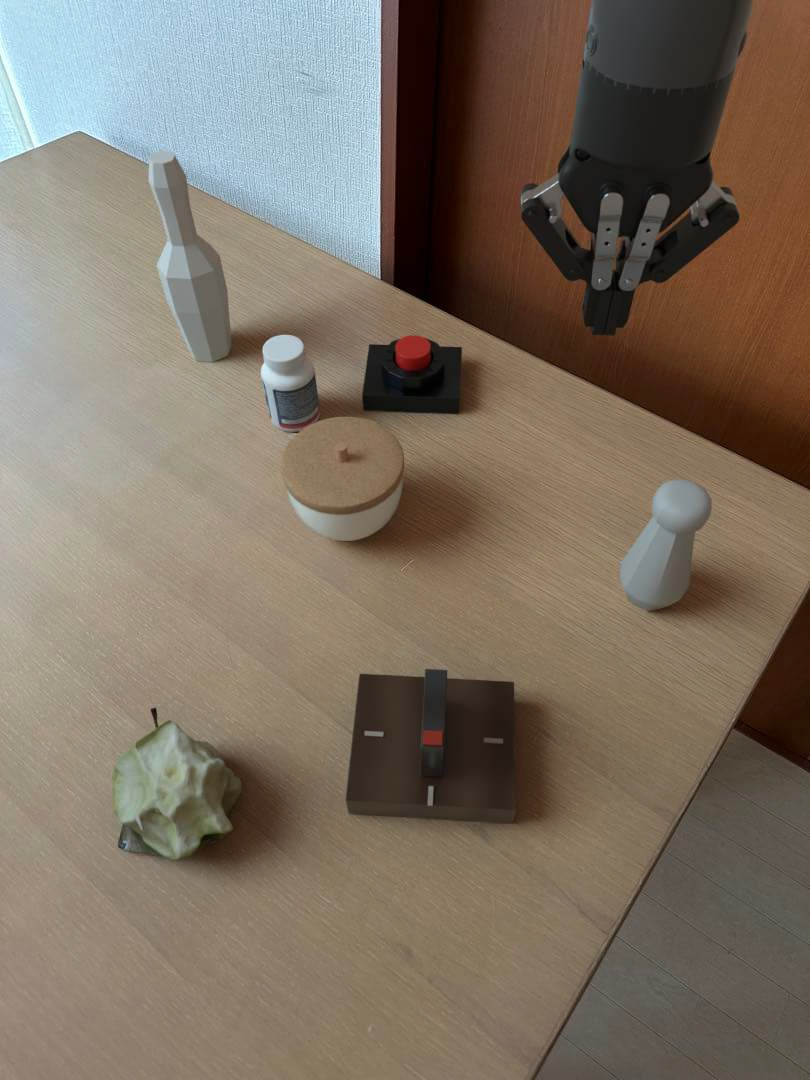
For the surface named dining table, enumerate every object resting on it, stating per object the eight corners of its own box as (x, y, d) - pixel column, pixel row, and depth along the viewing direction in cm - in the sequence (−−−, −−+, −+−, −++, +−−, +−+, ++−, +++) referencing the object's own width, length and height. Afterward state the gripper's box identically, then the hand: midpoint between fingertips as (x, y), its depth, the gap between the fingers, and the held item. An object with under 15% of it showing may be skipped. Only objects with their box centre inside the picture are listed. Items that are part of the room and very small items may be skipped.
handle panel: (510, 697, 66) (514, 679, 64) (512, 825, 60) (516, 810, 58) (361, 689, 67) (359, 671, 65) (348, 815, 61) (345, 800, 58)
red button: (431, 348, 87) (431, 335, 85) (429, 372, 84) (429, 358, 83) (397, 347, 87) (396, 334, 85) (394, 371, 85) (394, 357, 83)
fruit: (139, 758, 65) (125, 696, 60) (257, 773, 65) (254, 712, 60) (97, 871, 58) (77, 812, 53) (228, 888, 58) (222, 831, 53)
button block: (461, 362, 91) (462, 333, 87) (459, 414, 86) (460, 385, 83) (370, 359, 91) (368, 330, 88) (363, 410, 86) (360, 381, 83)
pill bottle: (331, 414, 86) (322, 346, 79) (293, 441, 84) (281, 374, 77) (296, 390, 88) (285, 322, 81) (259, 416, 86) (244, 348, 79)
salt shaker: (616, 559, 74) (647, 460, 64) (681, 569, 74) (724, 471, 63) (612, 613, 71) (645, 518, 61) (681, 624, 70) (726, 530, 60)
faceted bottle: (184, 371, 90) (127, 180, 73) (179, 335, 94) (125, 144, 77) (242, 362, 91) (200, 170, 74) (235, 326, 95) (194, 135, 77)
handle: (424, 699, 63) (425, 666, 59) (445, 701, 63) (447, 667, 59) (420, 776, 59) (420, 746, 55) (442, 777, 59) (444, 748, 55)
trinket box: (377, 459, 82) (372, 388, 75) (425, 536, 76) (425, 467, 69) (275, 495, 80) (260, 425, 72) (316, 578, 74) (304, 511, 66)
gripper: (781, 17, 43) (694, 295, 57) (526, 15, 44) (501, 290, 58) (814, 84, 39) (711, 369, 53) (529, 80, 40) (501, 362, 53)
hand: (601, 327), depth 55 cm, fingers closed
